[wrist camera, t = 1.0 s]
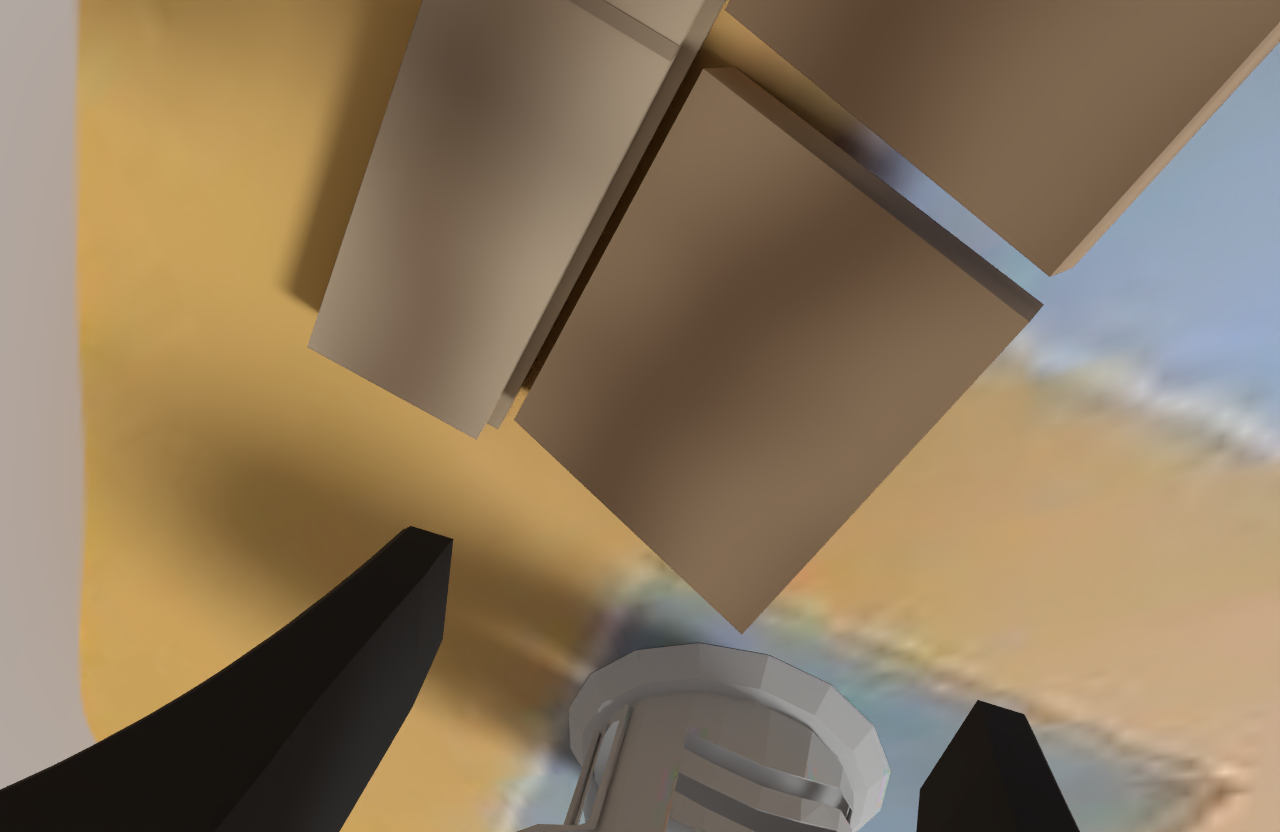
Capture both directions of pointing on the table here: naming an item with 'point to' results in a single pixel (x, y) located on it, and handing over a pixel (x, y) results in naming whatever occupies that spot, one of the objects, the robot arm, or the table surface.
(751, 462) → the plank
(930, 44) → the plank
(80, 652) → the table surface
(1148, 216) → the table surface
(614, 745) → the french press
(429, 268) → the laid board
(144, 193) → the table surface
